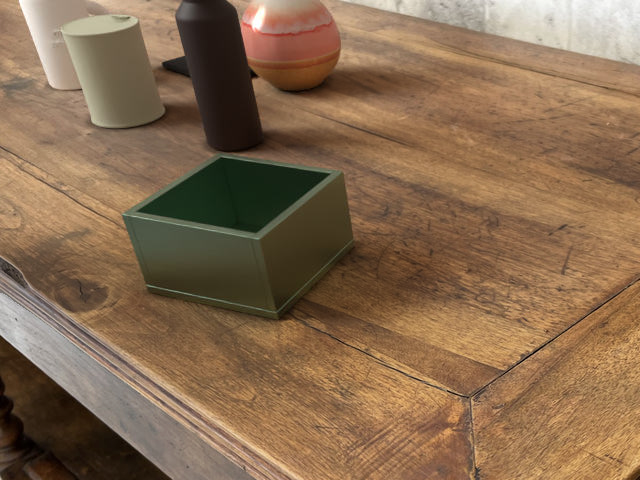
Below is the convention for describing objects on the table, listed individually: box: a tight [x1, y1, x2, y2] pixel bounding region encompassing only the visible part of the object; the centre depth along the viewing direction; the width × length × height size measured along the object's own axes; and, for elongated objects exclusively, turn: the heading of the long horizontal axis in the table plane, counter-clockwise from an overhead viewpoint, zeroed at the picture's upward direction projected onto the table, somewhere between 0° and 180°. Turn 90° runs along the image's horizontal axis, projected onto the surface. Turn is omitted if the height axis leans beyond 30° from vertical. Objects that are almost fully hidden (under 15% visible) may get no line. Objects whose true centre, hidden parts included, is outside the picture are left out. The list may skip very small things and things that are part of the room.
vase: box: [240, 0, 342, 92], centre depth 110 cm, size 14×14×18 cm
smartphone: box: [161, 55, 257, 77], centre depth 120 cm, size 7×1×15 cm
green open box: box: [121, 152, 356, 321], centre depth 72 cm, size 14×14×8 cm
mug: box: [18, 0, 113, 91], centre depth 115 cm, size 8×12×12 cm
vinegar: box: [174, 0, 264, 152], centre depth 93 cm, size 7×7×20 cm
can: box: [61, 13, 166, 129], centre depth 102 cm, size 9×9×12 cm
